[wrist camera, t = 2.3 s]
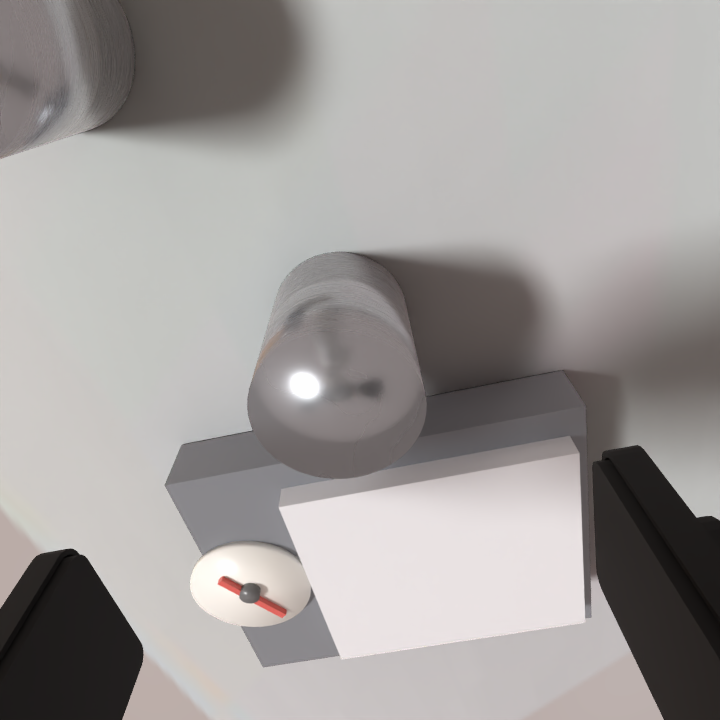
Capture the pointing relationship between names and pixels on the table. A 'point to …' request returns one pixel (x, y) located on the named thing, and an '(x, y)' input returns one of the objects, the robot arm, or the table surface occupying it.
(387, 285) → the cylinder
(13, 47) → the cylinder
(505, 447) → the scale
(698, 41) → the table surface
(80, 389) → the table surface
